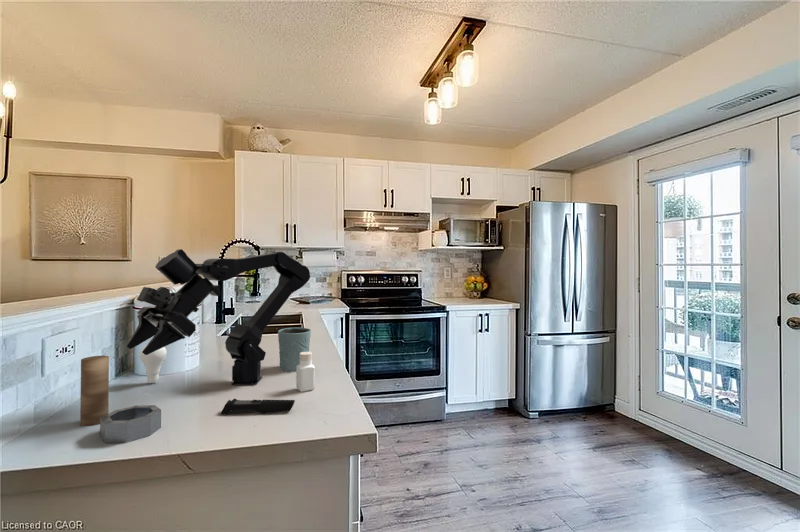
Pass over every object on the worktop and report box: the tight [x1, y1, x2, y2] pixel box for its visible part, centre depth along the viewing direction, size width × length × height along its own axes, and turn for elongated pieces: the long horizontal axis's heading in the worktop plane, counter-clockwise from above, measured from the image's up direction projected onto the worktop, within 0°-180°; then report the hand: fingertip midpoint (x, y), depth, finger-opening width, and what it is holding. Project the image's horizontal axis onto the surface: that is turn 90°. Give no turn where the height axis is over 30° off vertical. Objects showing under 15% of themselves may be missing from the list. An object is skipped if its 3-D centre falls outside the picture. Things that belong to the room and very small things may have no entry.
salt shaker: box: [295, 351, 316, 393], centre depth 99 cm, size 4×4×10 cm
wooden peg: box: [79, 355, 110, 427], centre depth 78 cm, size 4×4×13 cm
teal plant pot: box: [277, 327, 312, 372], centre depth 120 cm, size 10×10×12 cm
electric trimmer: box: [220, 398, 296, 415], centre depth 84 cm, size 4×16×3 cm, turn 92°
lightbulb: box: [139, 343, 167, 384], centre depth 103 cm, size 6×6×11 cm
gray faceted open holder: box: [99, 404, 162, 444], centre depth 73 cm, size 9×9×4 cm
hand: (135, 350), depth 83 cm, fingers open, 9 cm apart
